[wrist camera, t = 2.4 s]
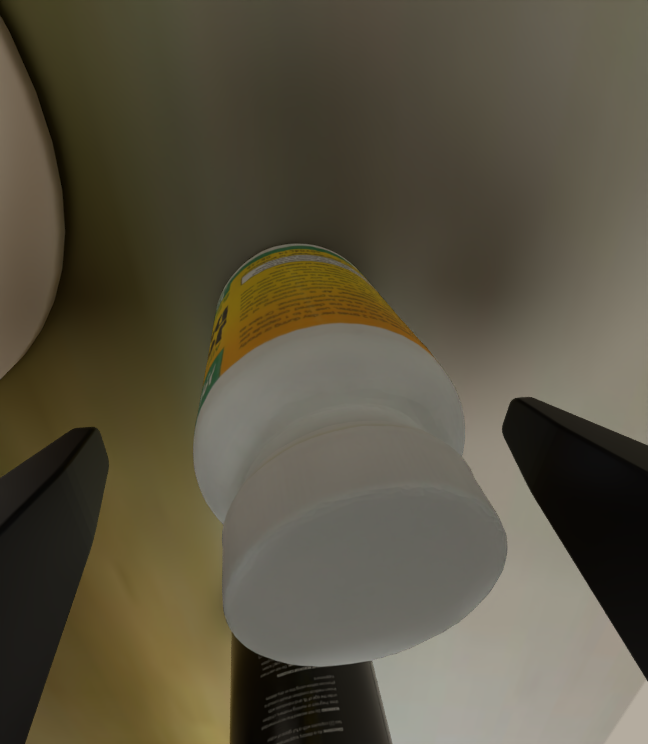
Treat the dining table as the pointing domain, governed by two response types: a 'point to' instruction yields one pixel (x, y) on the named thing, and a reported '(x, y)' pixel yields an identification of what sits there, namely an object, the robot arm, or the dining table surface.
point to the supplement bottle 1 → (336, 469)
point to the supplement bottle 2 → (303, 702)
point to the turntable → (25, 210)
